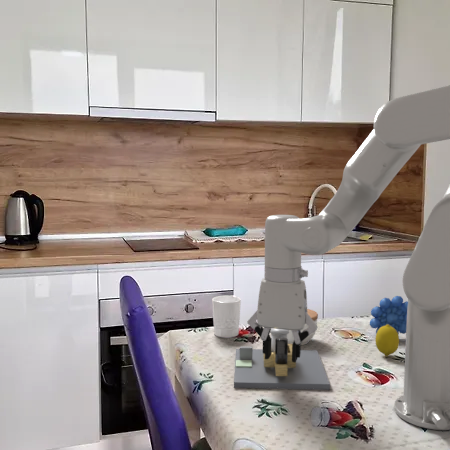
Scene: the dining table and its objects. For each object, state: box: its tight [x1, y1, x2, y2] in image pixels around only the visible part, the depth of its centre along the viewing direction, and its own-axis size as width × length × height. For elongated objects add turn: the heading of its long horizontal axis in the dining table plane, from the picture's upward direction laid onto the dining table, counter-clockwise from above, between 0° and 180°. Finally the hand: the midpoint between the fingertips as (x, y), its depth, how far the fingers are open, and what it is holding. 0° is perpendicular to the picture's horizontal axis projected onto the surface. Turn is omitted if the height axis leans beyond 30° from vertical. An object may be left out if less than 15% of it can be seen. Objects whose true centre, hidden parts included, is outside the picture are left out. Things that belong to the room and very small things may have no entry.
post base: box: [233, 328, 331, 391], centre depth 117 cm, size 20×20×10 cm
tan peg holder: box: [263, 337, 296, 376], centre depth 114 cm, size 13×7×8 cm, turn 177°
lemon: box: [374, 324, 400, 357], centre depth 126 cm, size 6×6×8 cm
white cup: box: [211, 294, 242, 339], centre depth 142 cm, size 8×8×10 cm
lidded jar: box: [287, 308, 319, 346], centre depth 137 cm, size 11×11×9 cm
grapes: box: [369, 295, 408, 335], centre depth 139 cm, size 12×7×12 cm, turn 72°
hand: (281, 357), depth 109 cm, fingers open, 5 cm apart
